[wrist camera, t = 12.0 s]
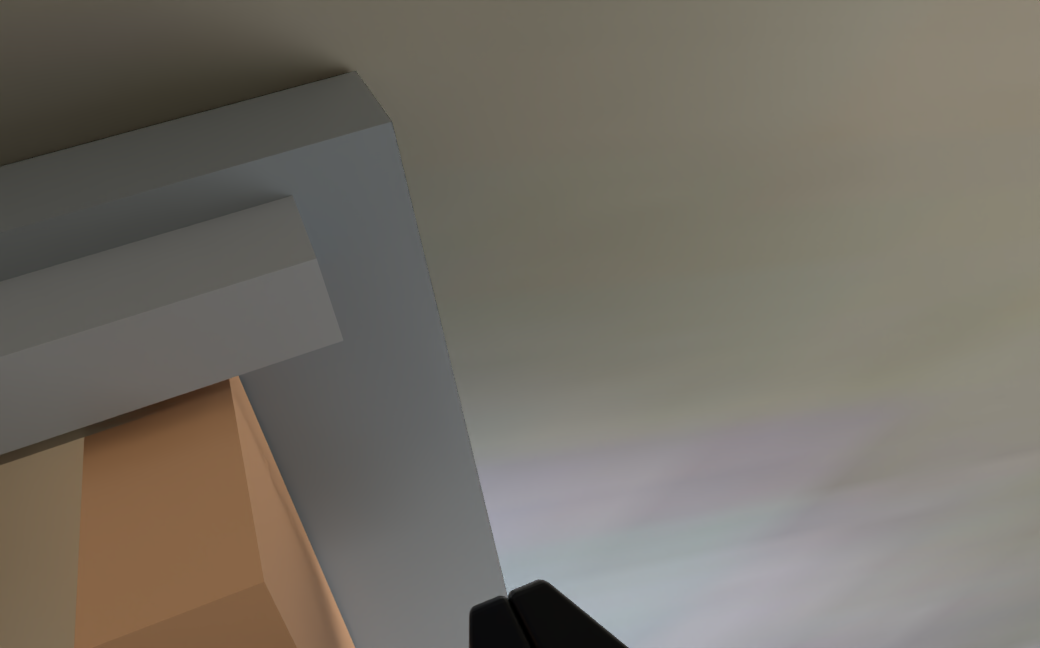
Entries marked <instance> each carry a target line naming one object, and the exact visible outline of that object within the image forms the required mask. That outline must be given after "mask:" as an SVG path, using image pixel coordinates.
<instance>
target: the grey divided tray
mask: <svg viewBox="0 0 1040 648" xmlns="http://www.w3.org/2000/svg"><path fill="white" fill-rule="evenodd" d="M236 376H239V378H240V381H241V383H242V385H243V388H244V390H245V392H246V395H247V397H248V399H249V402H250V404H251V406H252V409H253V411H254V413H255V416H256V418H257V420H258V423H259V425H260V427H261V430H262V432H263V434H264V437H265V439H266V441H267V444H268V446H269V448H270V451H271V453H272V455H273V458H274V460H275V462H276V465H277V467H278V469H279V472H280V474H281V476H282V478H283V481H284V483H285V485H286V488H287V490H288V492H289V495H290V497H291V499H292V502H293V504H294V506H295V509H296V511H297V513H298V516H299V518H300V520H301V523H302V525H303V527H304V530H305V532H306V534H307V537H308V539H309V541H310V544H311V546H312V548H313V551H314V553H315V555H316V558H317V560H318V562H319V565H320V567H321V569H322V572H323V574H324V576H325V579H326V581H327V583H328V586H329V588H330V590H331V593H332V595H333V597H334V600H335V602H336V604H337V607H338V609H339V611H340V613H341V616H342V618H343V620H344V623H345V625H346V627H347V630H348V632H349V634H350V637H351V639H352V641H353V644H354V646H355V648H469V612H470V609H471V608H472V607H473V606H475V605H477V604H479V603H482V602H484V601H487V600H489V599H492V598H494V597H497V596H501V595H502V596H505V597H507V598H508V596H507V592H506V588H505V584H504V580H503V575H502V571H501V567H500V563H499V559H498V555H497V551H496V547H495V543H494V539H493V534H492V530H491V526H490V522H489V518H488V514H487V510H486V506H485V502H484V497H483V493H482V489H481V485H480V481H479V477H478V473H477V469H476V465H475V461H474V456H473V452H472V448H471V444H470V440H469V436H468V432H467V428H466V424H465V420H464V415H463V411H462V407H461V403H460V399H459V395H458V391H457V387H456V383H455V378H454V374H453V370H452V366H451V362H450V358H449V354H448V350H447V346H446V342H445V337H444V333H443V329H442V325H441V321H440V317H439V313H438V309H437V305H436V300H435V296H434V292H433V288H432V284H431V280H430V276H429V272H428V268H427V264H426V259H425V255H424V251H423V247H422V243H421V239H420V235H419V231H418V227H417V223H416V218H415V214H414V210H413V206H412V202H411V198H410V194H409V190H408V186H407V181H406V177H405V173H404V169H403V165H402V161H401V157H400V153H399V149H398V145H397V140H396V136H395V132H394V128H393V124H392V121H391V120H390V118H389V117H388V115H387V114H386V113H385V111H384V110H383V108H382V107H381V106H380V104H379V103H378V101H377V100H376V98H375V97H374V96H373V94H372V93H371V91H370V90H369V89H368V87H367V86H366V84H365V83H364V82H363V80H362V79H361V77H360V76H359V75H358V73H357V72H356V71H354V72H350V73H346V74H342V75H339V76H335V77H331V78H328V79H324V80H320V81H316V82H313V83H309V84H305V85H302V86H298V87H294V88H290V89H287V90H283V91H279V92H276V93H272V94H268V95H264V96H261V97H257V98H253V99H250V100H246V101H242V102H238V103H235V104H231V105H227V106H224V107H220V108H216V109H212V110H209V111H205V112H201V113H198V114H194V115H190V116H186V117H183V118H179V119H175V120H172V121H168V122H164V123H160V124H157V125H153V126H149V127H146V128H142V129H138V130H134V131H131V132H127V133H123V134H120V135H116V136H112V137H108V138H105V139H101V140H97V141H94V142H90V143H86V144H82V145H79V146H75V147H71V148H68V149H64V150H60V151H56V152H53V153H49V154H45V155H42V156H38V157H34V158H30V159H27V160H23V161H19V162H16V163H12V164H8V165H4V166H1V167H0V455H2V454H5V453H8V452H11V451H14V450H17V449H20V448H23V447H26V446H29V445H32V444H35V443H38V442H41V441H44V440H47V439H50V438H53V437H56V436H59V435H62V434H65V433H68V432H71V431H74V430H77V429H80V428H83V427H86V426H89V425H92V424H95V423H98V422H101V421H104V420H107V419H110V418H113V417H116V416H119V415H122V414H125V413H128V412H131V411H134V410H137V409H140V408H143V407H146V406H149V405H152V404H155V403H158V402H161V401H164V400H167V399H170V398H173V397H176V396H179V395H182V394H185V393H188V392H191V391H194V390H197V389H200V388H203V387H206V386H209V385H212V384H215V383H218V382H221V381H224V380H227V379H230V378H233V377H236Z"/></svg>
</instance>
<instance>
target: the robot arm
mask: <svg viewBox="0 0 1040 648" xmlns="http://www.w3.org/2000/svg"><path fill="white" fill-rule="evenodd" d="M469 648H628V647H627V646H626V645H625V644H623V643H622V642H621V641H620V640H618V639H617V638H616V637H615V636H614V635H612V634H611V633H610V632H609V631H607V630H606V629H605V628H604V627H603V626H601V625H600V624H599V623H598V622H596V621H595V620H594V619H593V618H592V617H590V616H589V615H588V614H587V613H585V612H584V611H583V610H582V609H580V608H579V607H578V606H577V605H576V604H574V603H573V602H572V601H571V600H569V599H568V598H567V597H566V596H565V595H563V594H562V593H561V592H560V591H558V590H557V589H556V588H555V587H554V586H552V585H551V584H550V583H548V582H546V581H544V580H536V581H534V582H531V583H529V584H526V585H524V586H521V587H519V588H516V589H514V590H512V591H511V592H510V593H509V595H508V598H507V597H505V596H502V595H501V596H497V597H494V598H492V599H489V600H487V601H484V602H482V603H479V604H477V605H475V606H473V607H472V608H471V609H470V612H469Z"/></svg>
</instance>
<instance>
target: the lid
mask: <svg viewBox="0 0 1040 648" xmlns="http://www.w3.org/2000/svg"><path fill="white" fill-rule="evenodd" d="M0 648H355V646H354V644H353V641H352V639H351V637H350V634H349V632H348V630H347V627H346V625H345V623H344V620H343V618H342V616H341V613H340V611H339V609H338V607H337V604H336V602H335V600H334V597H333V595H332V593H331V590H330V588H329V586H328V583H327V581H326V579H325V576H324V574H323V572H322V569H321V567H320V565H319V562H318V560H317V558H316V555H315V553H314V551H313V548H312V546H311V544H310V541H309V539H308V537H307V534H306V532H305V530H304V527H303V525H302V523H301V520H300V518H299V516H298V513H297V511H296V509H295V506H294V504H293V502H292V499H291V497H290V495H289V492H288V490H287V488H286V485H285V483H284V481H283V478H282V476H281V474H280V472H279V469H278V467H277V465H276V462H275V460H274V458H273V455H272V453H271V451H270V448H269V446H268V444H267V441H266V439H265V437H264V434H263V432H262V430H261V427H260V425H259V423H258V420H257V418H256V416H255V413H254V411H253V409H252V406H251V404H250V402H249V399H248V397H247V395H246V392H245V390H244V388H243V385H242V383H241V381H240V378H239V376H236V377H233V378H230V379H227V380H224V381H221V382H218V383H215V384H212V385H209V386H206V387H203V388H200V389H197V390H194V391H191V392H188V393H185V394H182V395H179V396H176V397H173V398H170V399H167V400H164V401H161V402H158V403H155V404H152V405H149V406H146V407H143V408H140V409H137V410H134V411H131V412H128V413H125V414H122V415H119V416H116V417H113V418H110V419H107V420H104V421H101V422H98V423H95V424H92V425H89V426H86V427H83V428H80V429H77V430H74V431H71V432H68V433H65V434H62V435H59V436H56V437H53V438H50V439H47V440H44V441H41V442H38V443H35V444H32V445H29V446H26V447H23V448H20V449H17V450H14V451H11V452H8V453H5V454H2V455H0Z"/></svg>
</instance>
